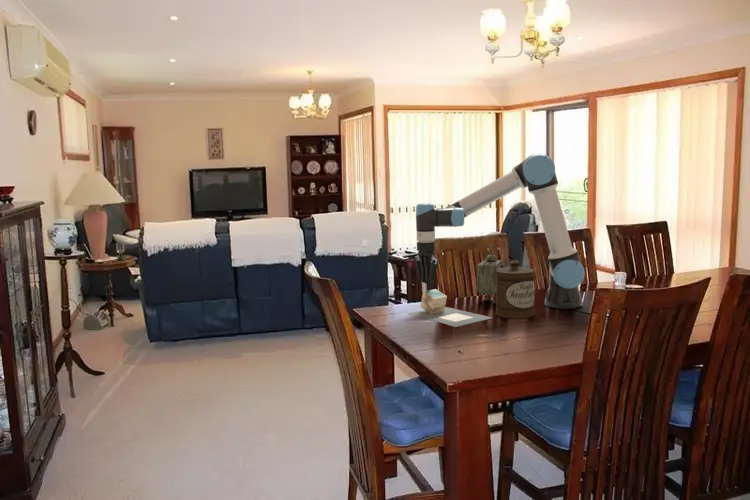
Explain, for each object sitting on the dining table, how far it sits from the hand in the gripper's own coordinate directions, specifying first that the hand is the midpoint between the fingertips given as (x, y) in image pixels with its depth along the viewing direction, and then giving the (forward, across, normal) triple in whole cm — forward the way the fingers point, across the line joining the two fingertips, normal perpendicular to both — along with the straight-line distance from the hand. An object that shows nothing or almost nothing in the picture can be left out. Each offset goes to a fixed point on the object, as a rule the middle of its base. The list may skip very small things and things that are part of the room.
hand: (427, 297), depth 271 cm
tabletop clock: (+6, +5, +33) cm, 34 cm away
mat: (+6, +13, 0) cm, 14 cm away
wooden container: (+6, +29, +21) cm, 36 cm away
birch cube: (+4, +3, 0) cm, 5 cm away
